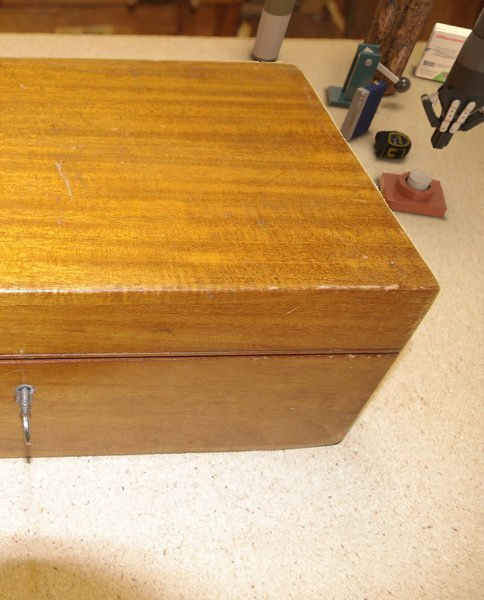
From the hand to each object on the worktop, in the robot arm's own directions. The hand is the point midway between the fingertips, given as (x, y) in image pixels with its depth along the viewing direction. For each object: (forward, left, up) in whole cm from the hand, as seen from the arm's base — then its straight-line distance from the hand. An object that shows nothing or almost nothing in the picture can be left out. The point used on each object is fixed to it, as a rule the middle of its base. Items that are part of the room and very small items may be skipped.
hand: (436, 146), depth 131 cm
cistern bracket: (+9, -35, -12) cm, 38 cm away
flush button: (0, 0, -9) cm, 9 cm away
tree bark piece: (+2, -47, -13) cm, 49 cm away
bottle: (+29, -50, -13) cm, 59 cm away
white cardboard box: (-12, -52, -13) cm, 55 cm away
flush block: (0, 0, -12) cm, 12 cm away
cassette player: (+9, -21, -13) cm, 26 cm away
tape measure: (+3, -15, -13) cm, 20 cm away
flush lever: (+5, -35, -6) cm, 36 cm away
